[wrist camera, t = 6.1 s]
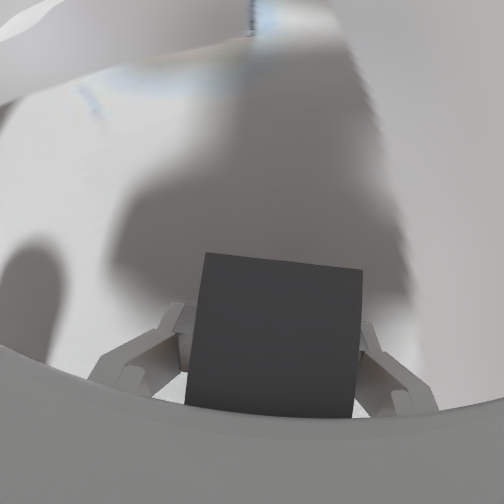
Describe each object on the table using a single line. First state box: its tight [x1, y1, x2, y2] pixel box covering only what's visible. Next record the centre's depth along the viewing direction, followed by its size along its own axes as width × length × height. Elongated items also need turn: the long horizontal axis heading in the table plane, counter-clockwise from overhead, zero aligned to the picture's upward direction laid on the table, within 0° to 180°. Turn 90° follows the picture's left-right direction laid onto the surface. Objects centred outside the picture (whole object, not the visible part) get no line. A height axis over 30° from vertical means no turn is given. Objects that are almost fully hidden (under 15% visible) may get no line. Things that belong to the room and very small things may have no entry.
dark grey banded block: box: [184, 252, 363, 419], centre depth 11 cm, size 4×4×8 cm
